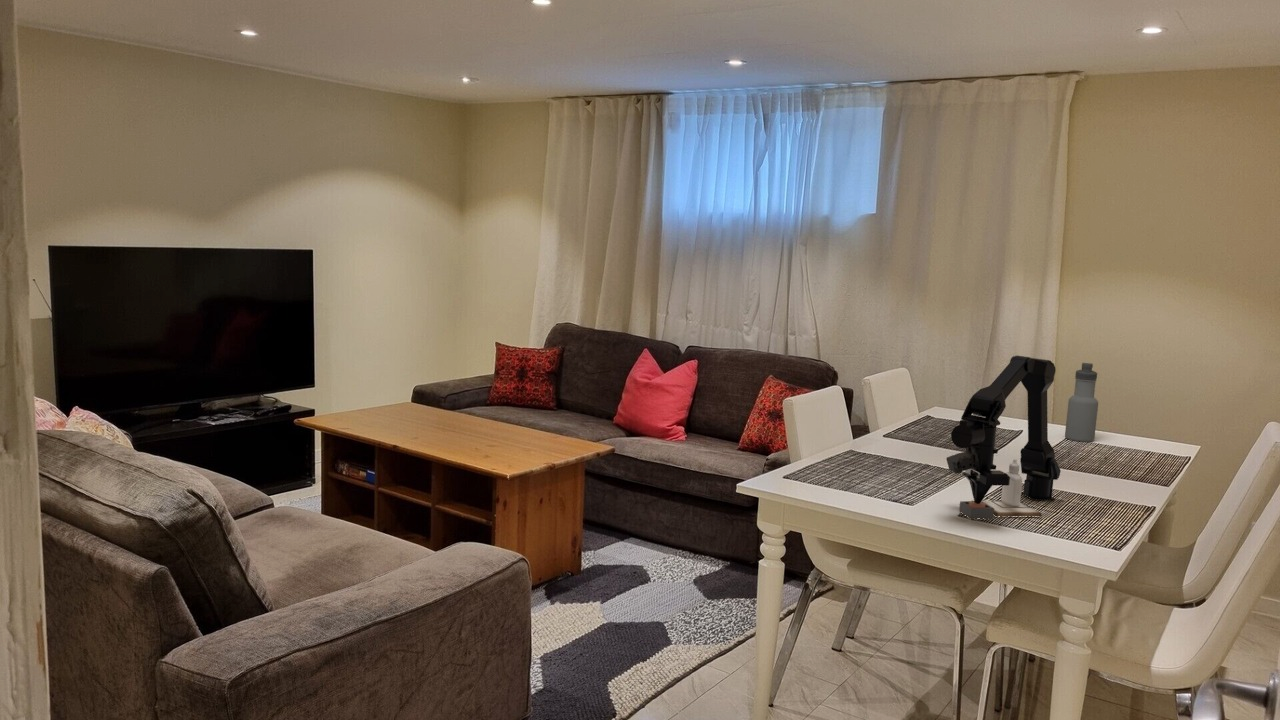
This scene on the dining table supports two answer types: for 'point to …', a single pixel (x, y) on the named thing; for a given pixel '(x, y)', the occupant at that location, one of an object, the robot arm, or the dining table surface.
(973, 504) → the button
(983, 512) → the button housing
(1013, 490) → the eye dropper bottle
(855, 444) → the dining table surface
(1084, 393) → the water bottle
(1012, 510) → the board
